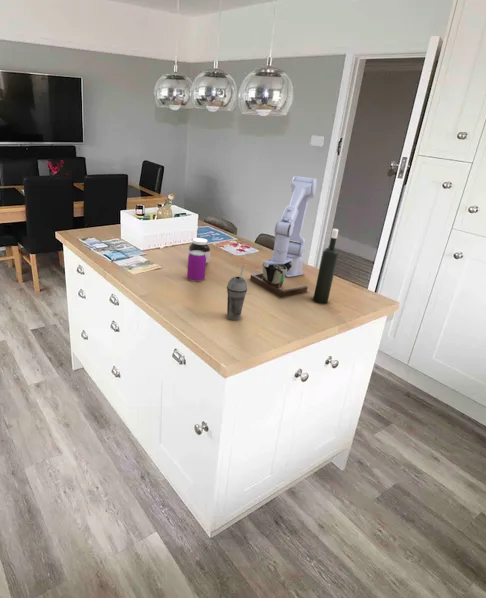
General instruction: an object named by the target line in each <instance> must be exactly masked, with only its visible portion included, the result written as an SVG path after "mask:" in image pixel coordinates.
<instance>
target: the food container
mask: <svg viewBox="0 0 486 598" xmlns="http://www.w3.org/2000/svg"><path fill="white" fill-rule="evenodd" d="M261 266H262V273H263V279H262V280H264V281H266V282H267V283H269V284H271V285H273V286H274V287H276V288H278V289H280V290H281V291H282V288H283V284H284V280H285V278H286V276H285V275H286V274H287V267H286V266H285V265H284V264H279V265H273V266H274V268H276V271H275V273H274V276H273V280H272V282H269V281H268V279H267V272H266V269H265V267H264V262H262V265H261ZM284 277H285V278H284Z"/></svg>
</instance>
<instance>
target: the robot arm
mask: <svg viewBox="0 0 486 598" xmlns="http://www.w3.org/2000/svg"><path fill="white" fill-rule="evenodd" d="M290 188H291V193H292V195H291V198H290V201H289V205H287V206H285V208H284V210H283V212H282V214H281V217H280V219H279V221H277V222H276V223H275V226H274V245H273V252H272V256H271V258H270V259H268V260H264V261H263V263H264V267H265V269H266V272H267V279H268V281H269V282H272V280H273V276H274V273H275V271H276V268H274V266H273V265H279V264H284V265H285V266H286V267H287V274H286V275H285V277H284V279H285V278H292V277H297V276H303V275H304V273H303V268H304V262H305V260H304V257H303V255H304V253H305V250H306V239H305V238H304V237H303V236H302V233H303V227H304V223H305V219H306V214H307V211H308V207H309V206H308V205H309V202H310V200H311V199H314V197H315V195H316V191H317V188H318V180H317V178H315V177H313V178H312V177H306V176H298V175H294V176H293V178H292V180H291V184H290Z"/></svg>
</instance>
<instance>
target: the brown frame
mask: <svg viewBox="0 0 486 598" xmlns="http://www.w3.org/2000/svg"><path fill="white" fill-rule="evenodd" d="M249 278H250V279H249V280H250V281H251V282H253V283H255V284H256V285H258V286H260V287H261V288H263V289H264V290H266V291H268V292H270V293H272V294H274V295H275V296H277V297H279V298H286V297H290V296H295V295H300V294H305V293H307V292H308V288H309V287H308V286H307V285H304V286H298V287H293V288H289V289H288V288H287V289H284V290H282V289H281V290H280V289H278V288H276V287H274V286H273V285H271V284H269V283H267V282H266V281H264V280H263V272H260V273H252V274H250V277H249Z"/></svg>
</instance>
